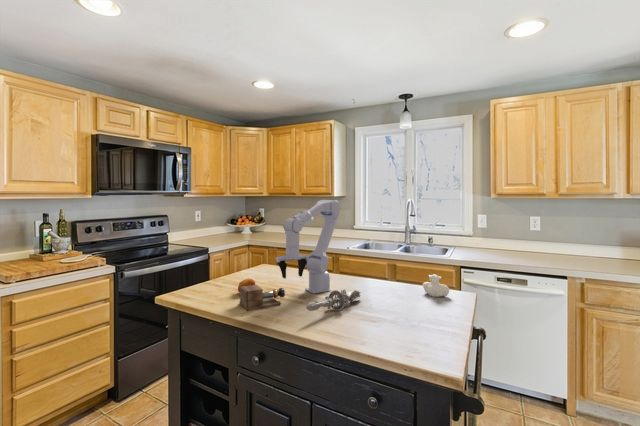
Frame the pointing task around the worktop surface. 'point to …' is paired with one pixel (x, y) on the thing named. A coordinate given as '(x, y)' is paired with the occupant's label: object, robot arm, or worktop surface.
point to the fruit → (246, 283)
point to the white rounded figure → (435, 287)
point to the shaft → (274, 293)
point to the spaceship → (335, 300)
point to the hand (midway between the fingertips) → (292, 277)
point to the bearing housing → (255, 298)
